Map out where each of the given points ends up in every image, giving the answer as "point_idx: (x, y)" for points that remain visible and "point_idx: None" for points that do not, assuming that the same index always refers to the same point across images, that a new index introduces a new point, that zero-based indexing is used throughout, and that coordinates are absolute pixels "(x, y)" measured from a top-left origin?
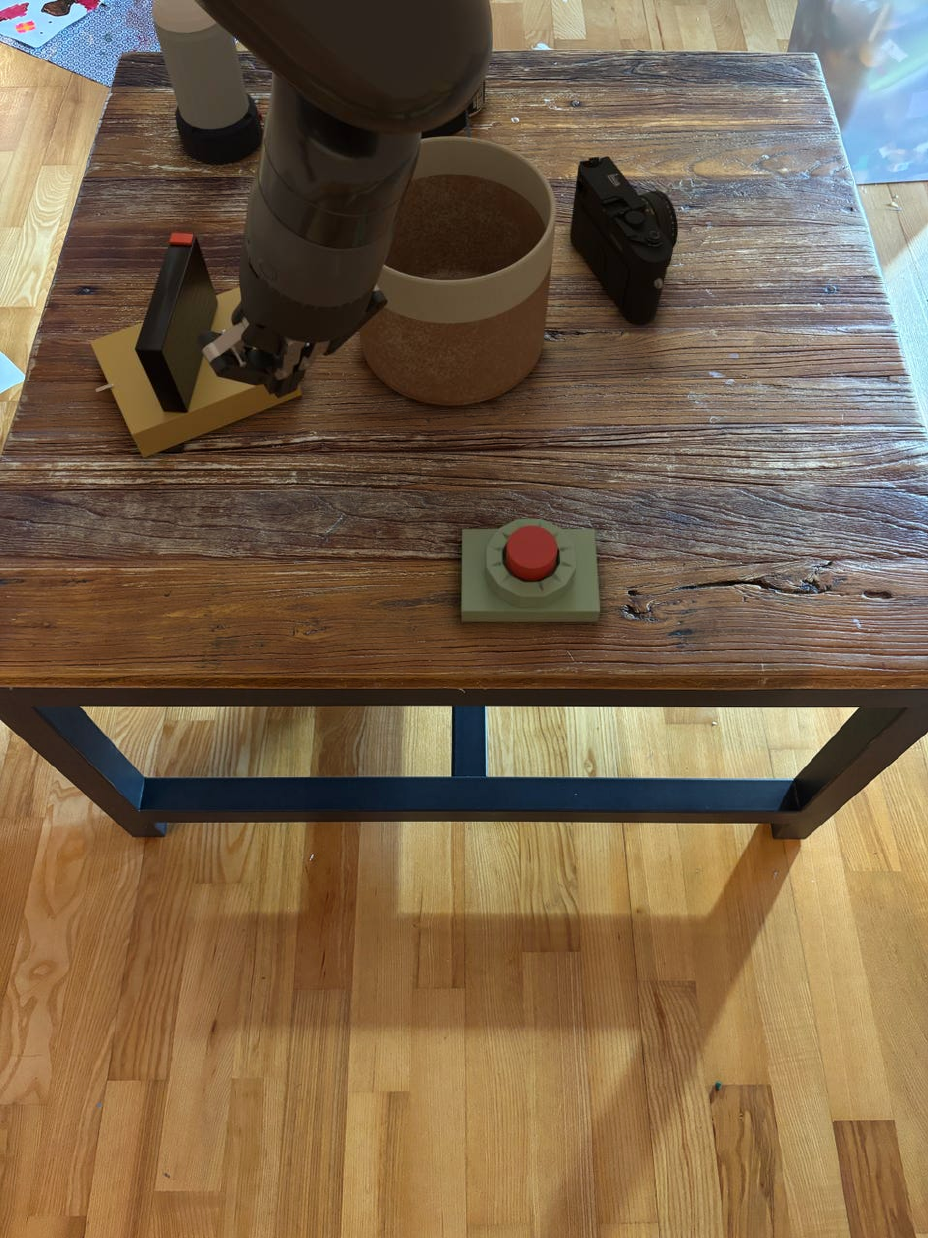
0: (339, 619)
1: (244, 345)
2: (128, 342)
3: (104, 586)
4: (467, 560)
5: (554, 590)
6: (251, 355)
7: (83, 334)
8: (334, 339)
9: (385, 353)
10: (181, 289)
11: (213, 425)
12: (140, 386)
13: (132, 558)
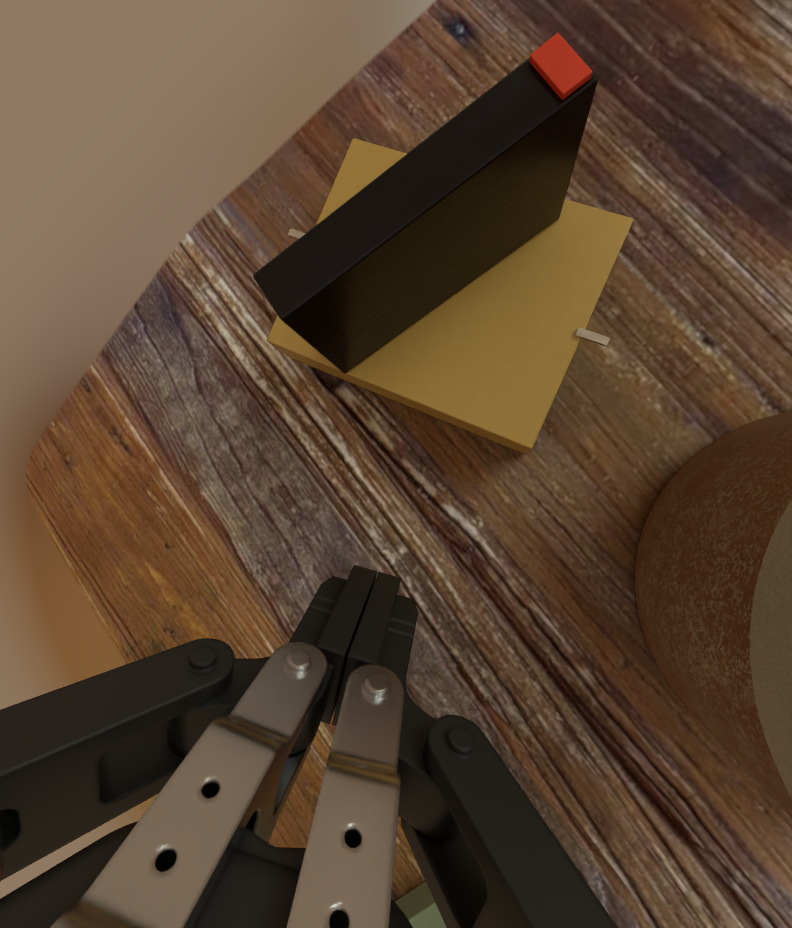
0: None
1: (151, 722)
2: None
3: (134, 473)
4: (426, 920)
5: None
6: (182, 721)
7: (393, 105)
8: (432, 883)
9: (669, 594)
10: (442, 203)
11: (385, 395)
12: None
13: (178, 470)
